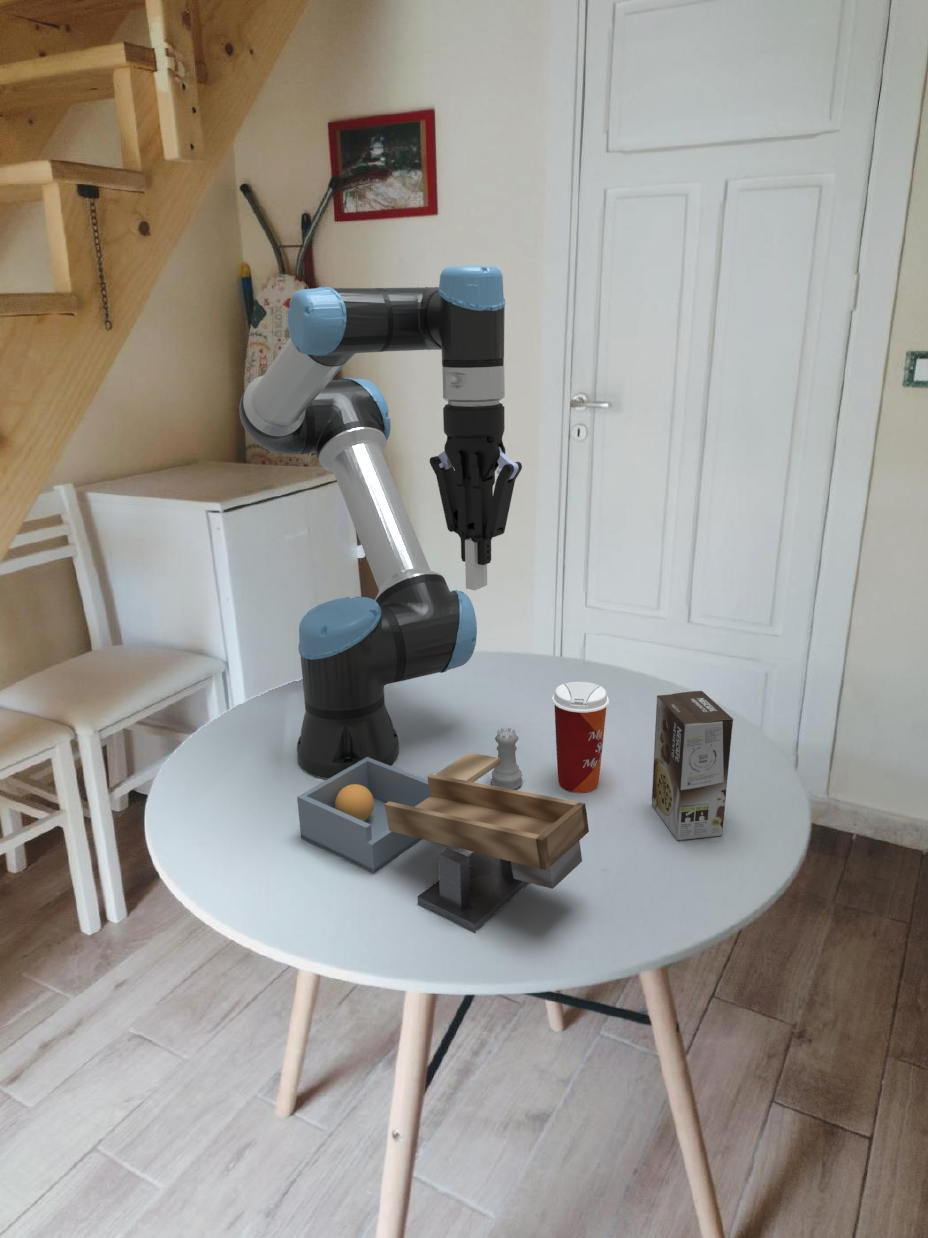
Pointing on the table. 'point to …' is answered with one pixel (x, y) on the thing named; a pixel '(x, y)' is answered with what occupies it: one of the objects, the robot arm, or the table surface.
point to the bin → (350, 835)
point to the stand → (470, 888)
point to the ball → (355, 801)
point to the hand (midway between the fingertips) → (476, 586)
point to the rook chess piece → (507, 761)
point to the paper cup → (579, 734)
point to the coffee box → (691, 764)
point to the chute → (496, 821)
